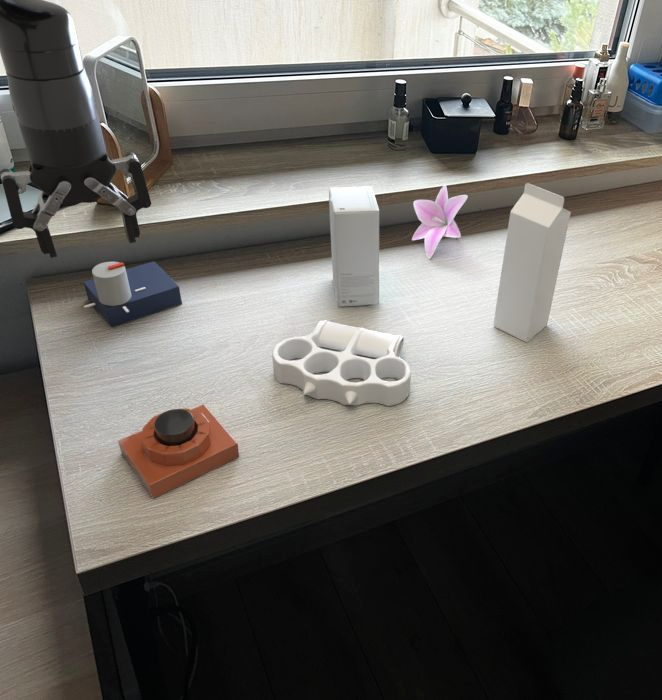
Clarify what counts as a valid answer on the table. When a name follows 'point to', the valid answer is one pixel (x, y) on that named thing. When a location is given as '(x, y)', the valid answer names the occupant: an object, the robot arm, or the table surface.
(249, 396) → the table surface
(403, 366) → the white brass knuckles
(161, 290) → the dial panel
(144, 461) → the button base
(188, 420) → the dark grey short cylinder
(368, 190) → the cosmetic box
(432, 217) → the lily
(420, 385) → the table surface
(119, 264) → the dial
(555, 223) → the milk
